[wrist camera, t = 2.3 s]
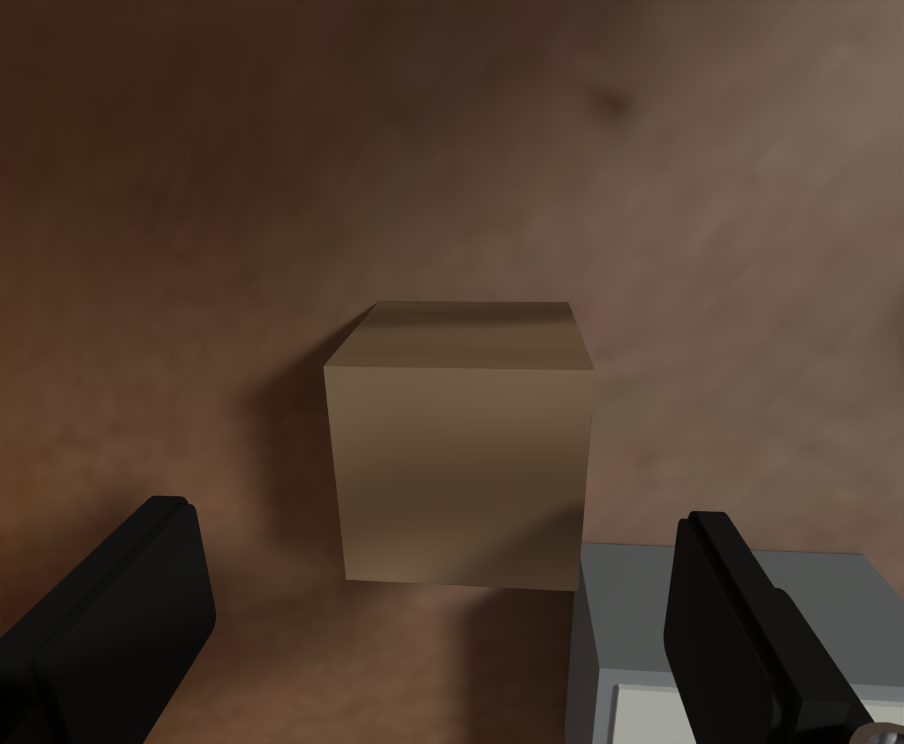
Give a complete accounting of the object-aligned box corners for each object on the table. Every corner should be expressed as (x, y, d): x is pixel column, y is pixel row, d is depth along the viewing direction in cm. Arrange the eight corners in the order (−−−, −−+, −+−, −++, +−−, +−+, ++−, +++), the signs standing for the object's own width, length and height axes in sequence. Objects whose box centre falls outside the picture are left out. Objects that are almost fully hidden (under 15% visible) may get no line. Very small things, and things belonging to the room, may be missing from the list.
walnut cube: (379, 300, 17) (323, 366, 12) (568, 301, 16) (594, 370, 11) (390, 463, 19) (346, 579, 14) (558, 468, 18) (577, 591, 13)
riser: (577, 542, 19) (600, 672, 14) (862, 555, 18) (988, 698, 14) (564, 732, 22) (579, 890, 18) (806, 749, 22) (890, 920, 17)
